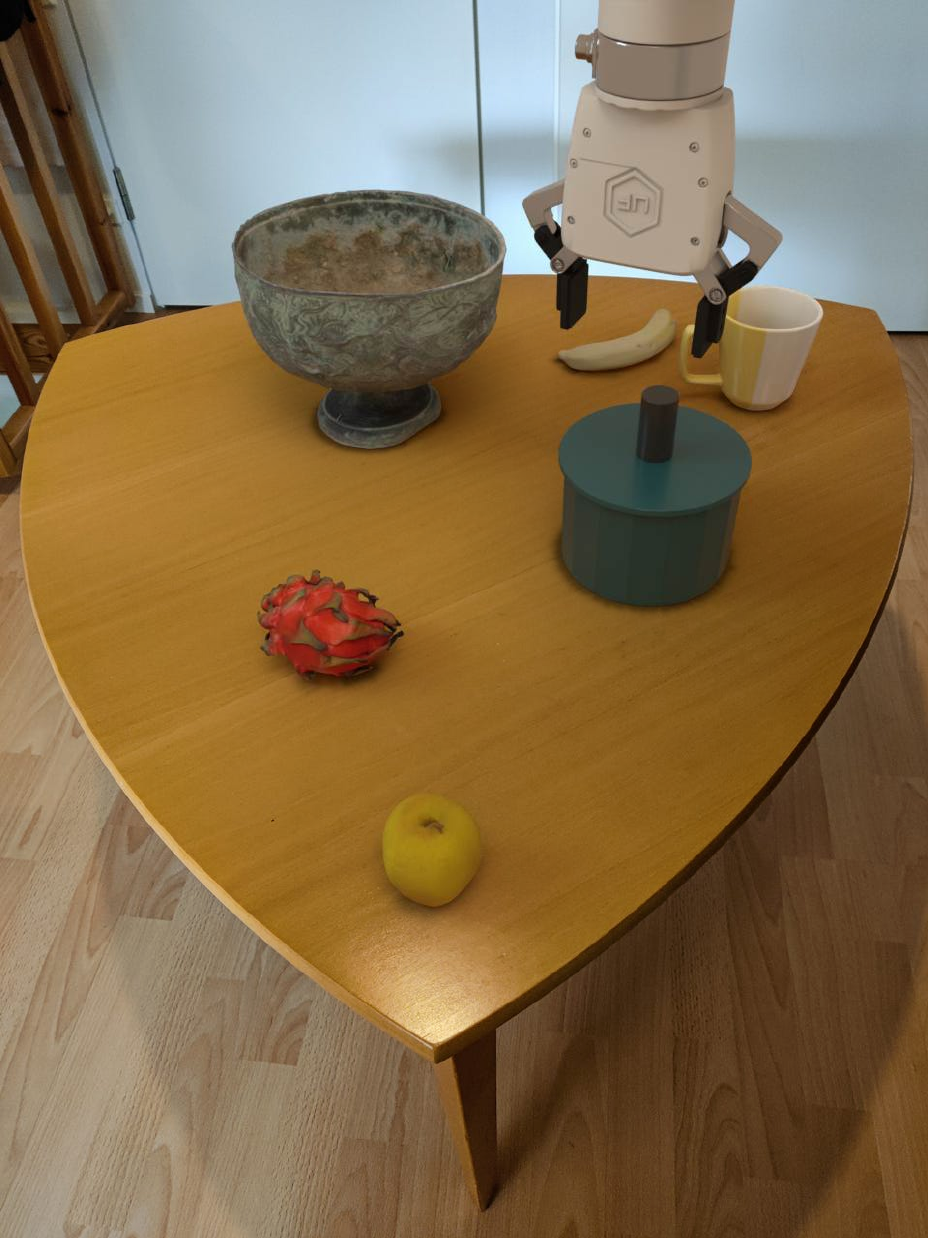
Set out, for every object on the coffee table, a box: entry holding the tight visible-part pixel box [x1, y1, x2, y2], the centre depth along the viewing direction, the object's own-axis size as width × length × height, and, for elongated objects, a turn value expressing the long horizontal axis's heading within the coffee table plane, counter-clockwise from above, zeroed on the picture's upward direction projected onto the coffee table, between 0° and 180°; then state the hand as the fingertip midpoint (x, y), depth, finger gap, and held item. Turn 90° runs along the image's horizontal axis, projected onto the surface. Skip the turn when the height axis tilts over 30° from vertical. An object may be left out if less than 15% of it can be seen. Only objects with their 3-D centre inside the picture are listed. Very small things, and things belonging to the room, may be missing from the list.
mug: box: [678, 285, 824, 412], centre depth 104 cm, size 14×10×10 cm
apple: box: [381, 791, 483, 908], centre depth 63 cm, size 6×6×8 cm
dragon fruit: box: [256, 569, 405, 682], centre depth 79 cm, size 8×8×12 cm
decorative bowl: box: [231, 189, 507, 450], centre depth 102 cm, size 26×26×20 cm
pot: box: [560, 476, 742, 607], centre depth 86 cm, size 15×15×10 cm
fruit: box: [557, 308, 677, 372], centre depth 114 cm, size 7×15×3 cm, turn 120°
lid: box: [557, 384, 753, 517], centre depth 81 cm, size 16×16×7 cm
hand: (636, 334), depth 70 cm, fingers open, 9 cm apart
